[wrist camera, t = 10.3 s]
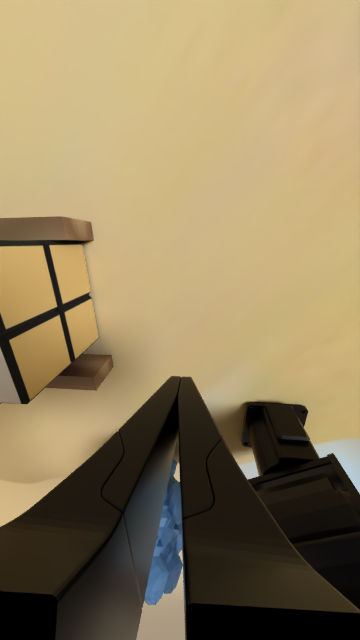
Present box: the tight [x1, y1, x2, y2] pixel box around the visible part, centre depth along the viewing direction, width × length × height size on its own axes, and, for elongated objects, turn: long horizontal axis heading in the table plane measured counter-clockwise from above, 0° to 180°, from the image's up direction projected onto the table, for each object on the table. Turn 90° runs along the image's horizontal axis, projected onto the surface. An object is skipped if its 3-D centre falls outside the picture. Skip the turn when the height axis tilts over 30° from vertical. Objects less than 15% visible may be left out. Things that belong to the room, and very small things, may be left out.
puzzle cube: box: [0, 240, 99, 404], centre depth 16 cm, size 10×10×10 cm
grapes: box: [144, 458, 183, 605], centre depth 22 cm, size 12×7×12 cm, turn 26°
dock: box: [0, 217, 113, 404], centre depth 18 cm, size 20×12×6 cm, turn 1°
